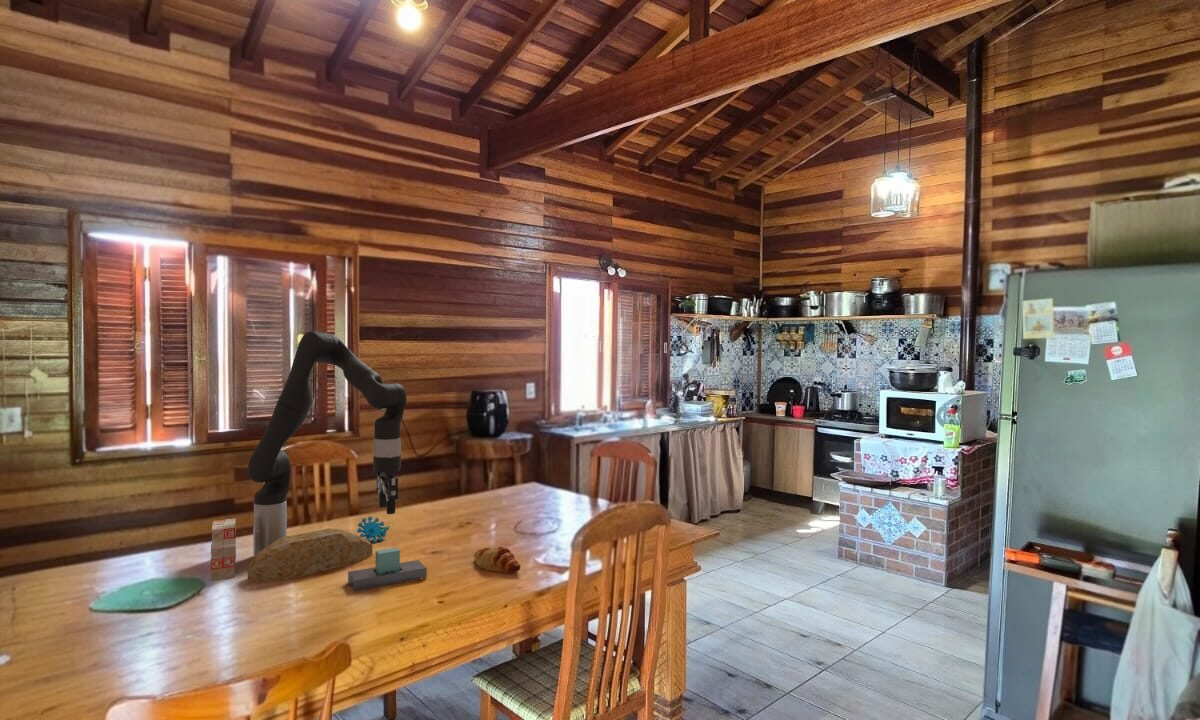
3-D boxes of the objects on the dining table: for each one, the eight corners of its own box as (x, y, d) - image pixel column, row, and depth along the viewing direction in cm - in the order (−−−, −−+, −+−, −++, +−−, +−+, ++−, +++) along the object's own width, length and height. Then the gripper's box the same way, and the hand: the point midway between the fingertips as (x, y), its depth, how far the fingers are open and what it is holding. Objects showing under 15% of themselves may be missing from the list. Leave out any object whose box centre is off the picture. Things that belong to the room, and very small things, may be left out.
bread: (256, 587, 185) (256, 551, 184) (242, 577, 192) (242, 543, 192) (378, 558, 210) (378, 527, 210) (361, 550, 218) (362, 520, 218)
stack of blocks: (235, 577, 192) (235, 535, 191) (210, 581, 189) (209, 538, 188) (236, 556, 210) (235, 517, 210) (213, 559, 207) (212, 519, 207)
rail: (354, 591, 182) (354, 580, 182) (348, 582, 189) (348, 571, 188) (426, 578, 192) (426, 567, 192) (418, 570, 199) (418, 560, 199)
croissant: (468, 572, 208) (457, 552, 205) (490, 551, 214) (480, 531, 212) (512, 588, 194) (502, 567, 191) (535, 564, 200) (525, 544, 197)
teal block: (378, 582, 188) (378, 553, 187) (375, 578, 190) (375, 550, 190) (399, 578, 191) (399, 550, 191) (396, 574, 194) (396, 547, 193)
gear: (360, 541, 221) (356, 515, 227) (354, 551, 224) (350, 525, 230) (392, 540, 228) (388, 515, 234) (386, 549, 231) (382, 524, 237)
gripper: (367, 451, 194) (367, 506, 194) (380, 458, 182) (379, 517, 182) (393, 449, 198) (393, 503, 198) (407, 456, 186) (407, 514, 186)
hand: (386, 510), depth 190 cm, fingers open, 8 cm apart
